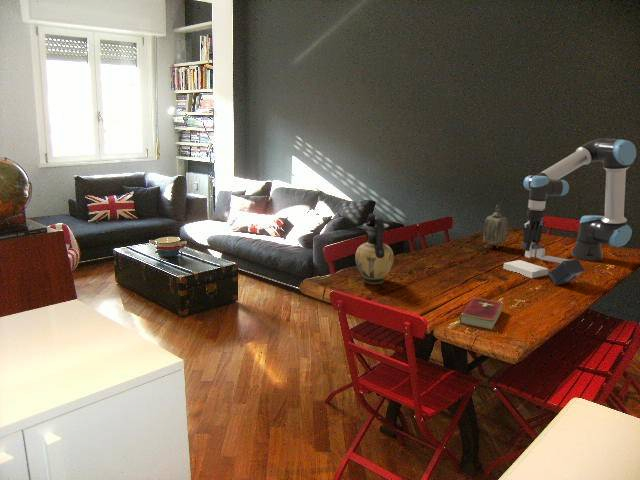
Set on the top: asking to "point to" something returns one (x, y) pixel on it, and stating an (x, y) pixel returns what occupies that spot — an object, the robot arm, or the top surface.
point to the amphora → (374, 252)
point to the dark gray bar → (542, 256)
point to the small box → (566, 272)
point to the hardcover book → (481, 313)
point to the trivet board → (526, 268)
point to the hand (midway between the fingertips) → (529, 256)
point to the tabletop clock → (495, 228)
